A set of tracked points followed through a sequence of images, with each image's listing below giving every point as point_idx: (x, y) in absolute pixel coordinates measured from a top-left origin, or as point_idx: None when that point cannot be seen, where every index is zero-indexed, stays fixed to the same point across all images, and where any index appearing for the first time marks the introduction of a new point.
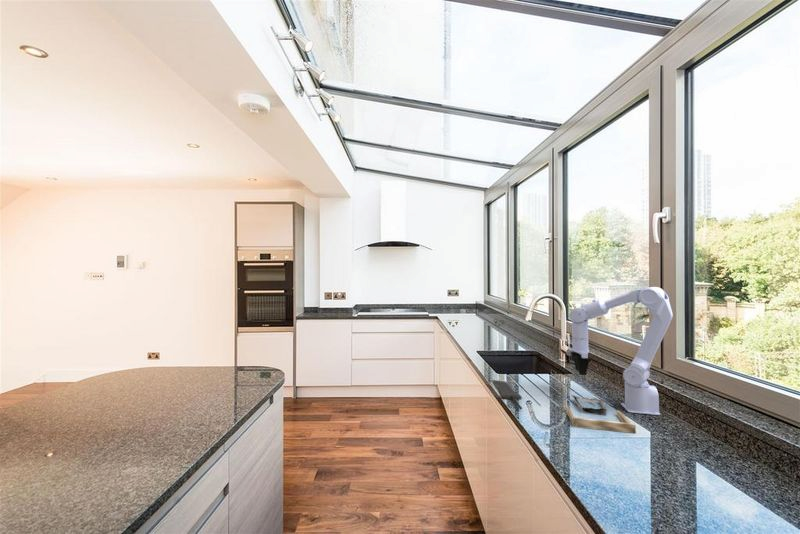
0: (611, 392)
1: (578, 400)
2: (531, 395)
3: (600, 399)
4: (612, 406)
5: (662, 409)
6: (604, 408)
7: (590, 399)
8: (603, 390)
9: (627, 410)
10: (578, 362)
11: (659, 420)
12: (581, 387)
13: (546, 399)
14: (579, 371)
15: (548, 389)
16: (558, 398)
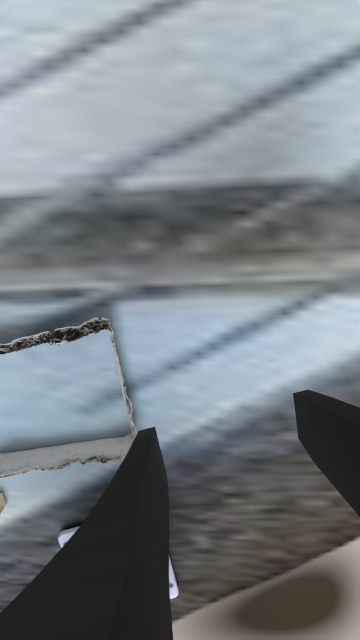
0: (317, 470)
1: (111, 344)
2: (66, 68)
3: None
4: (112, 476)
5: (174, 616)
6: (16, 460)
7: (126, 401)
8: None
9: (69, 531)
10: (43, 584)
11: None
12: (349, 350)
13: (39, 174)
14: (129, 450)
15: (244, 176)
16: (98, 242)
